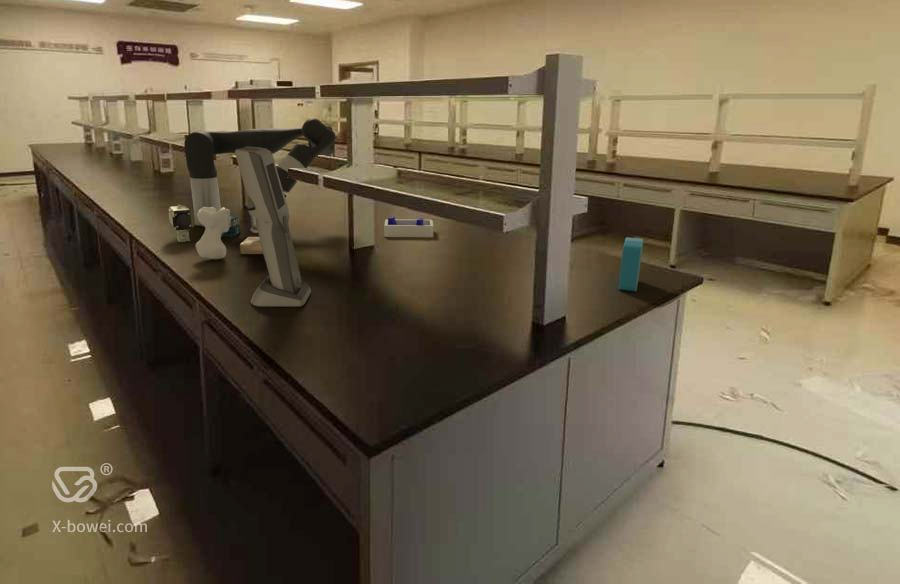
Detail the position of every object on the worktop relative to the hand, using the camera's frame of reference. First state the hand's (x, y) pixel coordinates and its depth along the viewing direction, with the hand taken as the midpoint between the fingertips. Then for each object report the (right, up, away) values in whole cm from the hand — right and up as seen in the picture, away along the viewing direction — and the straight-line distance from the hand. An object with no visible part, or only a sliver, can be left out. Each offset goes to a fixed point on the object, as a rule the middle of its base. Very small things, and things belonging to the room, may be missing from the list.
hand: (254, 216), depth 177 cm
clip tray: (+45, -2, +30) cm, 54 cm away
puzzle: (-17, -4, +23) cm, 29 cm away
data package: (+107, -22, -23) cm, 112 cm away
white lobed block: (-8, -14, -6) cm, 17 cm away
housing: (+1, -4, +3) cm, 5 cm away
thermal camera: (+20, -25, -39) cm, 50 cm away
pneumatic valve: (-28, -7, +13) cm, 31 cm away
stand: (+1, -10, +4) cm, 11 cm away
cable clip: (+44, -3, +30) cm, 53 cm away
